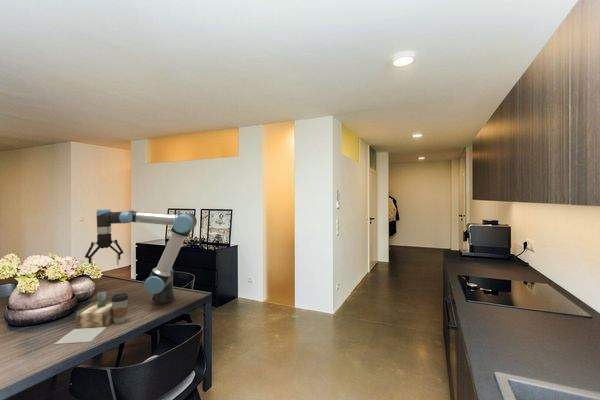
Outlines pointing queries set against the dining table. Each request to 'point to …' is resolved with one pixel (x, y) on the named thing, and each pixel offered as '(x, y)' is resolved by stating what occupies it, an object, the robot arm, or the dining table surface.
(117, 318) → the coffee cup
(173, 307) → the dining table surface
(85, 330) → the mat
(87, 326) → the box
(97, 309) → the lid
